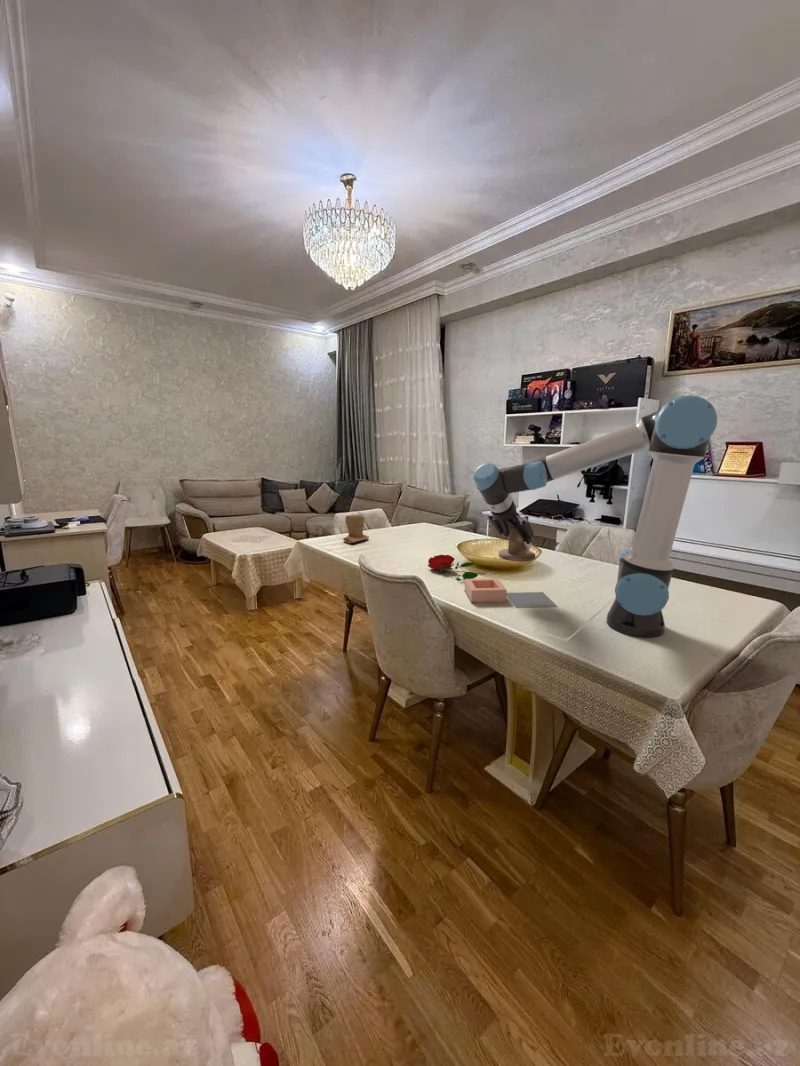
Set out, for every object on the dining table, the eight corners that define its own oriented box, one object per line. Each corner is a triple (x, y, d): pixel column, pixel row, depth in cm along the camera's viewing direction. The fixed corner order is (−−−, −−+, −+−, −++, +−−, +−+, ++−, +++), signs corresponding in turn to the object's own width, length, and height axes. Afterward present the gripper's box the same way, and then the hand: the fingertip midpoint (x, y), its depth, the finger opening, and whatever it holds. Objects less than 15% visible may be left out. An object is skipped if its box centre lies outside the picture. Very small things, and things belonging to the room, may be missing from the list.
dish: (506, 603, 146) (506, 589, 145) (471, 604, 146) (471, 590, 145) (496, 591, 158) (497, 578, 157) (464, 591, 158) (464, 578, 157)
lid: (541, 556, 147) (543, 524, 145) (524, 564, 139) (527, 530, 136) (509, 550, 155) (511, 519, 153) (492, 556, 147) (493, 524, 144)
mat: (558, 608, 142) (558, 607, 142) (516, 609, 142) (516, 608, 142) (542, 593, 156) (542, 592, 156) (504, 593, 155) (504, 592, 155)
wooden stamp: (356, 537, 245) (355, 511, 242) (372, 539, 238) (371, 513, 235) (337, 542, 234) (336, 515, 230) (353, 545, 226) (352, 517, 223)
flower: (489, 555, 164) (431, 547, 185) (476, 571, 159) (418, 561, 181) (496, 573, 168) (438, 563, 190) (484, 589, 163) (426, 578, 185)
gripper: (472, 510, 138) (495, 550, 153) (522, 517, 126) (542, 560, 142) (481, 492, 140) (504, 533, 156) (531, 498, 129) (550, 541, 144)
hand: (522, 546), depth 149 cm, fingers closed on lid, 4 cm apart
